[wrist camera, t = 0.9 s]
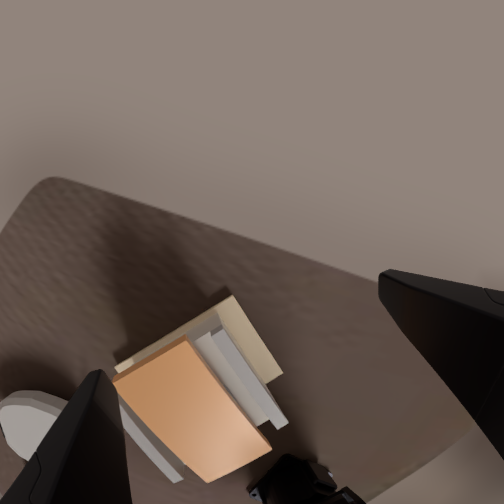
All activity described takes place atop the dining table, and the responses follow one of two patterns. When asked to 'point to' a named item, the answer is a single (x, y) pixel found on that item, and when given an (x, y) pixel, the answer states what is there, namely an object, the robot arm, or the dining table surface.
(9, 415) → the robot toy
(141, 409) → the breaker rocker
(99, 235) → the dining table surface
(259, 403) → the box
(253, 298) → the dining table surface
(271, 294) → the dining table surface
